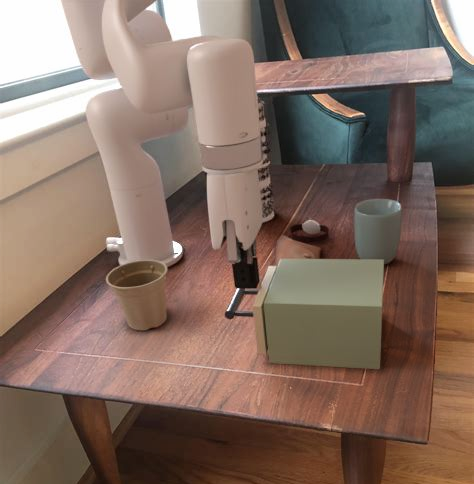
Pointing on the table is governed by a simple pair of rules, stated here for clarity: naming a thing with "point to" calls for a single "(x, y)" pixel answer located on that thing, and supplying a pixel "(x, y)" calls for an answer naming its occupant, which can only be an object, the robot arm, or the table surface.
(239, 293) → the drawer
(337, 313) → the cabinet
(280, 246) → the sunglasses case
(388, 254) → the cup
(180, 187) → the table surface
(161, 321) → the flower pot
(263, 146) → the decorative candle
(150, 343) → the table surface
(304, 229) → the watch
